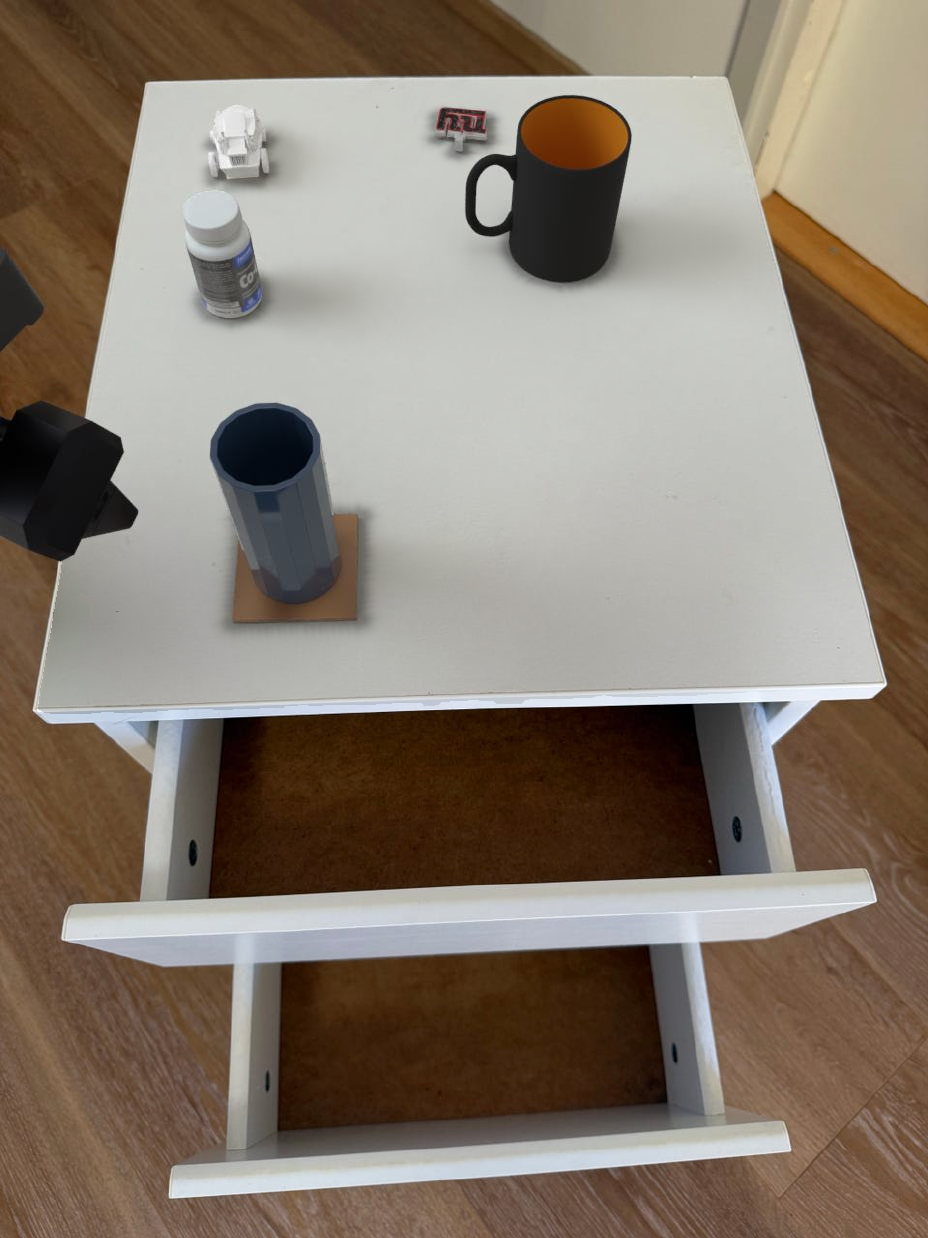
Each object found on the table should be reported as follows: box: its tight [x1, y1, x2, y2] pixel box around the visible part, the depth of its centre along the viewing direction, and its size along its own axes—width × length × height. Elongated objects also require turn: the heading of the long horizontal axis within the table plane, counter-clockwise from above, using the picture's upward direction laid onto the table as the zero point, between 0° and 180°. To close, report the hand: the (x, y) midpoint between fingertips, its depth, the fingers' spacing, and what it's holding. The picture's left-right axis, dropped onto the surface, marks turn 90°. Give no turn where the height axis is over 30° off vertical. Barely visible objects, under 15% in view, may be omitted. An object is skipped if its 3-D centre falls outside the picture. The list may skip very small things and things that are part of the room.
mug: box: [464, 94, 633, 283], centre depth 75 cm, size 8×12×10 cm
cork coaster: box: [231, 513, 359, 624], centre depth 65 cm, size 8×8×1 cm
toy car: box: [207, 104, 270, 180], centre depth 82 cm, size 5×8×4 cm, turn 8°
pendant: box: [434, 106, 488, 152], centre depth 85 cm, size 4×1×5 cm
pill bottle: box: [182, 189, 263, 319], centre depth 73 cm, size 5×5×8 cm
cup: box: [209, 402, 342, 604], centre depth 60 cm, size 6×6×13 cm
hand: (74, 491), depth 54 cm, fingers open, 9 cm apart
